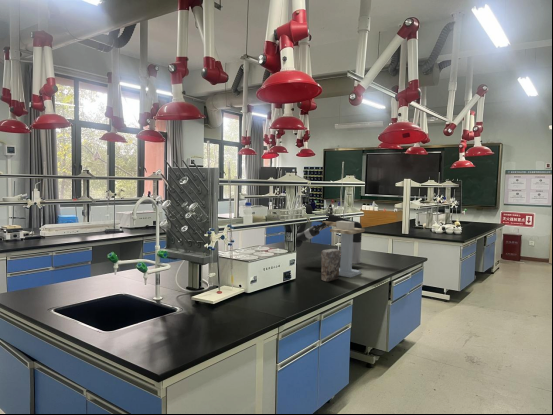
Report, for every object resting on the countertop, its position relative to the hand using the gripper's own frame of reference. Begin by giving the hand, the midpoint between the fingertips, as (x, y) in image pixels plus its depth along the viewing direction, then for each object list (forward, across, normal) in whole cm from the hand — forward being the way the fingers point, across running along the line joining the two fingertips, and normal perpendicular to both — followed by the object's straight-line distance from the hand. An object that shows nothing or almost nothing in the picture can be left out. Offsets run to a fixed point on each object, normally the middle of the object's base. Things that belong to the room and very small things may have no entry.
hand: (328, 223), depth 280 cm
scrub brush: (+5, 0, +6) cm, 8 cm away
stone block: (-4, -23, +38) cm, 44 cm away
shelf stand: (-4, 0, +38) cm, 38 cm away
